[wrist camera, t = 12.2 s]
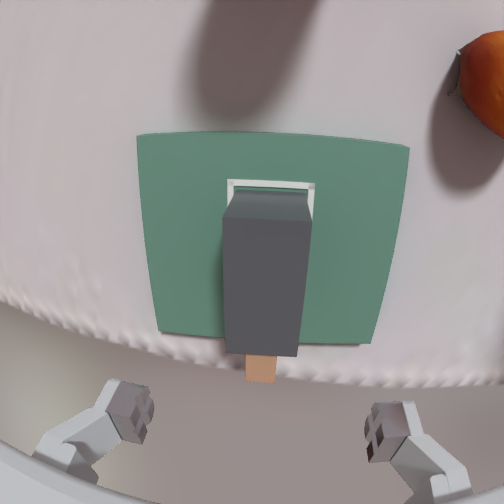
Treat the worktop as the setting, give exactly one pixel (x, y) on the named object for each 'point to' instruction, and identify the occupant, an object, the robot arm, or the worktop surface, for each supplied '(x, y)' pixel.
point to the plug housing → (265, 276)
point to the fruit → (484, 79)
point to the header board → (271, 179)
